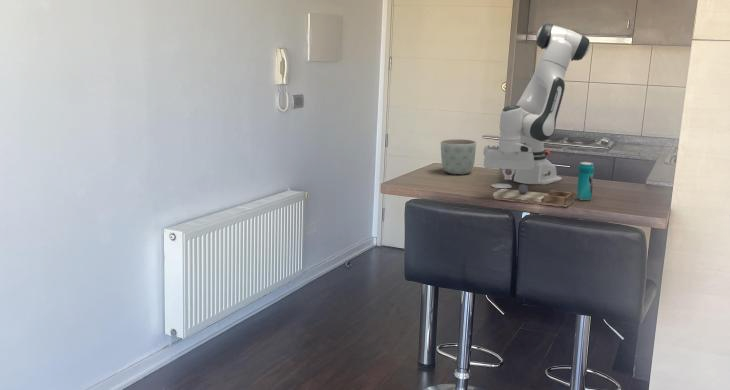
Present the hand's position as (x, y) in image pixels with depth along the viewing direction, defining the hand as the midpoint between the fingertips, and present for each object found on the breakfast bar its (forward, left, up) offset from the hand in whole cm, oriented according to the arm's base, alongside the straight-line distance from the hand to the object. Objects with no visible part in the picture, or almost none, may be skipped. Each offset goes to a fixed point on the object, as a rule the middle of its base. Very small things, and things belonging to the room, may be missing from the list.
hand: (508, 179), depth 293 cm
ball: (-3, +6, -3) cm, 7 cm away
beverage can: (-24, +19, -8) cm, 32 cm away
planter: (-16, -52, -8) cm, 55 cm away
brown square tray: (-10, +18, -8) cm, 22 cm away
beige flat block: (-3, +5, -8) cm, 10 cm away
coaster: (-12, -17, -8) cm, 22 cm away
